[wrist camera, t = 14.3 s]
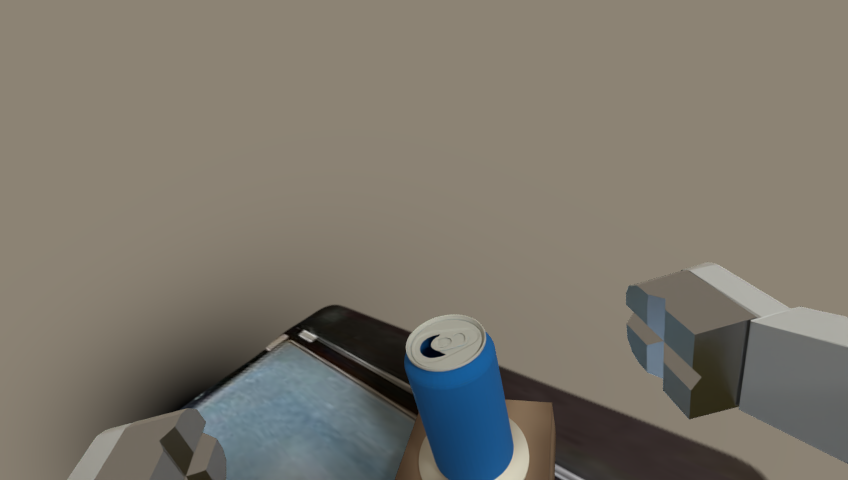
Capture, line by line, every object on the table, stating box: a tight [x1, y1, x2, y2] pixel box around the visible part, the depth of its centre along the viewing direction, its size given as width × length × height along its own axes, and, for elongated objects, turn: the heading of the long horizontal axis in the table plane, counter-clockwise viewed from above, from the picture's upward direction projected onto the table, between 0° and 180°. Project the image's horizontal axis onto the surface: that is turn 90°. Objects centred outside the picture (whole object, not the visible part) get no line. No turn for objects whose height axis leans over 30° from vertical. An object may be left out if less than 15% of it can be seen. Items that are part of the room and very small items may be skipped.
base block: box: [395, 400, 556, 480], centre depth 36 cm, size 12×12×4 cm
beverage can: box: [404, 314, 514, 480], centre depth 32 cm, size 6×6×12 cm
